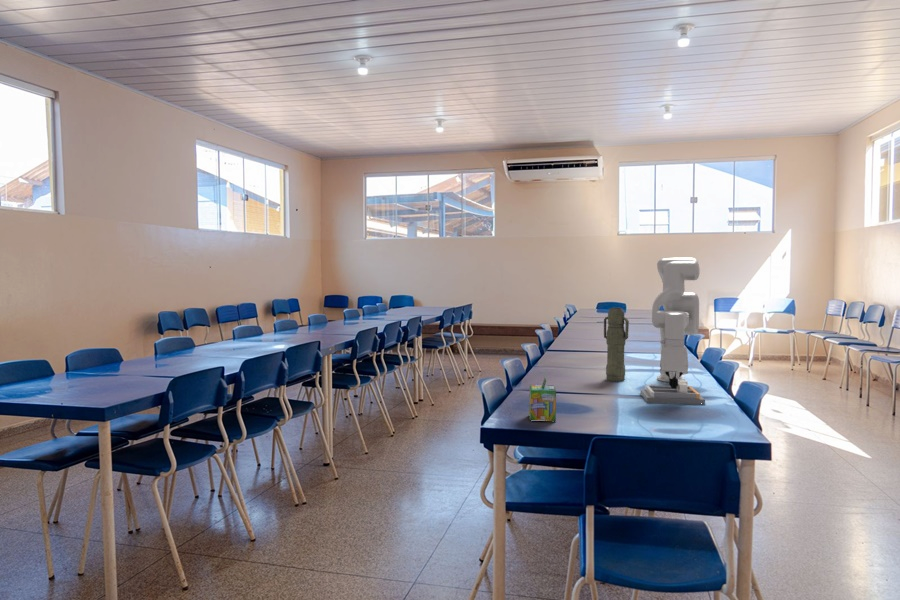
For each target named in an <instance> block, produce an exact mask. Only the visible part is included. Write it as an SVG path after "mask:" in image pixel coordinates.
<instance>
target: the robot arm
mask: <svg viewBox="0 0 900 600" xmlns="http://www.w3.org/2000/svg"><path fill="white" fill-rule="evenodd" d="M656 267H657V272H658V275H659V277H660V279H661V282H662V292H660V294H658V295H657V296H656V297H655V299H654V301H653V304H652V310H651V311H652V312H651V322H652V326H653V327H654V328H657V329H659V332H660V333H659V335H660V361H659V362H660V364H659V368H660V369H659V373H660V374H659V375H657V377H656V379H657V380H658V381H662V382H665V383H666V382H667V383H668V384H669V385H668V386H671V388H672V389H674V388H675V389H676V386H678V380H686V378H685V377H683V375H687V374H689V371H688V370H689V357H688V348H687V346H685V336H694V335H697V334H698V332H699V328H700V327H699V326H700V297H699V296H698V294H697V293H695V292H691V291H689V292H688V291H687V292H685V281H697V280H698V279H699V277H700V272H701V270H700V265H699V261H698V260H697V258H695V257H666V258H660V259H659V260H658V261H657V263H656ZM661 307H662V308H663V310H660V308H661Z"/></svg>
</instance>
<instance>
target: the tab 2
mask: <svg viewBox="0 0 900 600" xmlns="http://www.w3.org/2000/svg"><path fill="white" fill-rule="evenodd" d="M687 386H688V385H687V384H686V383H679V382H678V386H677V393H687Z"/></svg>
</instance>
